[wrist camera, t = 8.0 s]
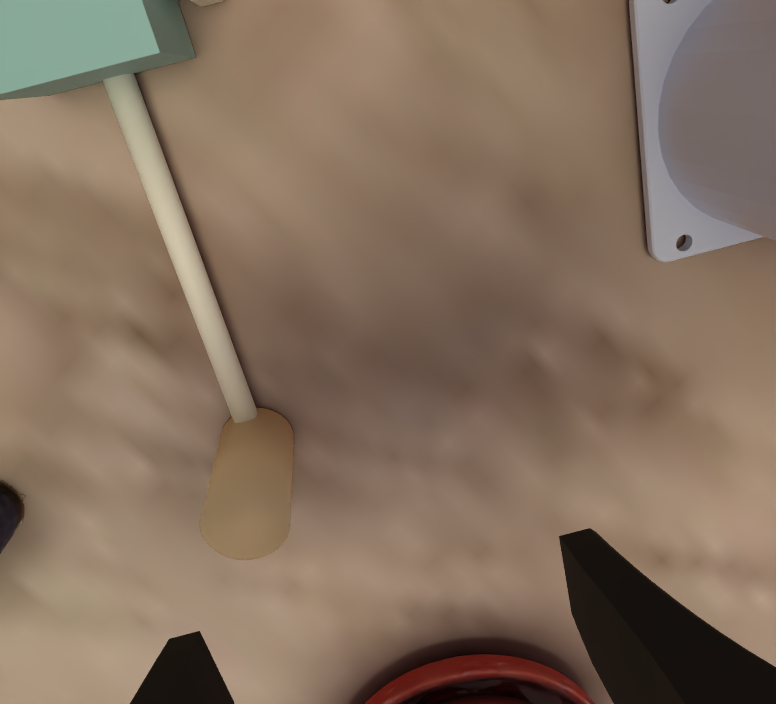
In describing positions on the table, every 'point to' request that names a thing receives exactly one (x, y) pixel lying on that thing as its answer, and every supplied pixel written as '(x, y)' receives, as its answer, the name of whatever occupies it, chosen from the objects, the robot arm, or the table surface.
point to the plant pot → (481, 683)
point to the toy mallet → (116, 70)
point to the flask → (9, 512)
